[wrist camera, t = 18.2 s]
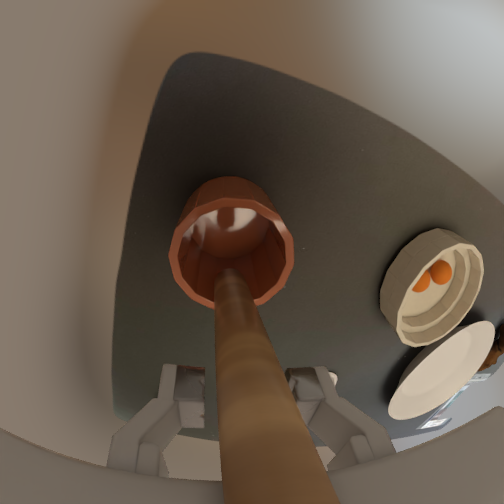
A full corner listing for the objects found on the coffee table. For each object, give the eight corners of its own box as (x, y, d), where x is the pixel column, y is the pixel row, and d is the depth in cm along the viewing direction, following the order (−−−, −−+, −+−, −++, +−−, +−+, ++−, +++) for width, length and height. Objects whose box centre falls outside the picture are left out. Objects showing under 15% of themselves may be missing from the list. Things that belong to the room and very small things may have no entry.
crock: (185, 172, 23) (169, 193, 16) (280, 181, 25) (306, 205, 17) (181, 257, 27) (169, 306, 20) (267, 263, 28) (283, 313, 21)
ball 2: (436, 263, 31) (440, 251, 29) (453, 276, 29) (458, 265, 27) (424, 279, 31) (427, 268, 28) (441, 293, 29) (446, 282, 26)
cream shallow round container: (399, 219, 27) (426, 237, 23) (472, 233, 30) (496, 249, 25) (362, 325, 33) (378, 351, 29) (436, 320, 35) (454, 340, 31)
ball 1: (417, 264, 27) (417, 292, 27) (435, 266, 28) (435, 292, 27) (401, 267, 30) (401, 292, 30) (419, 268, 31) (419, 292, 30)
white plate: (442, 395, 48) (449, 405, 45) (358, 414, 44) (364, 429, 41) (500, 308, 38) (510, 318, 35) (425, 309, 34) (439, 324, 31)
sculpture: (539, 344, 30) (501, 395, 37) (519, 317, 39) (487, 366, 46) (522, 341, 31) (481, 395, 37) (501, 312, 40) (467, 364, 47)
